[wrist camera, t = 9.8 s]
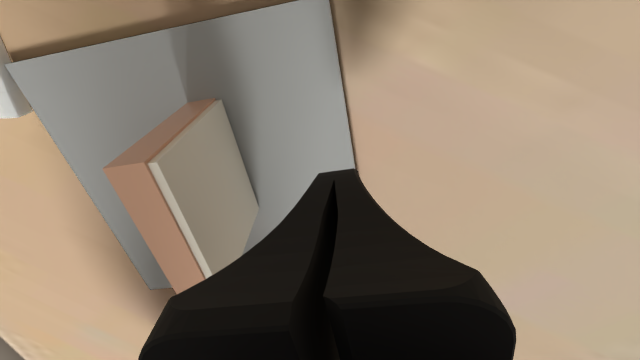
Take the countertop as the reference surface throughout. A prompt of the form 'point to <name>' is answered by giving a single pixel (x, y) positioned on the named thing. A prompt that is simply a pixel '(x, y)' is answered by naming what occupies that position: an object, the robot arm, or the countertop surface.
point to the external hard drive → (10, 90)
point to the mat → (199, 84)
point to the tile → (188, 192)
